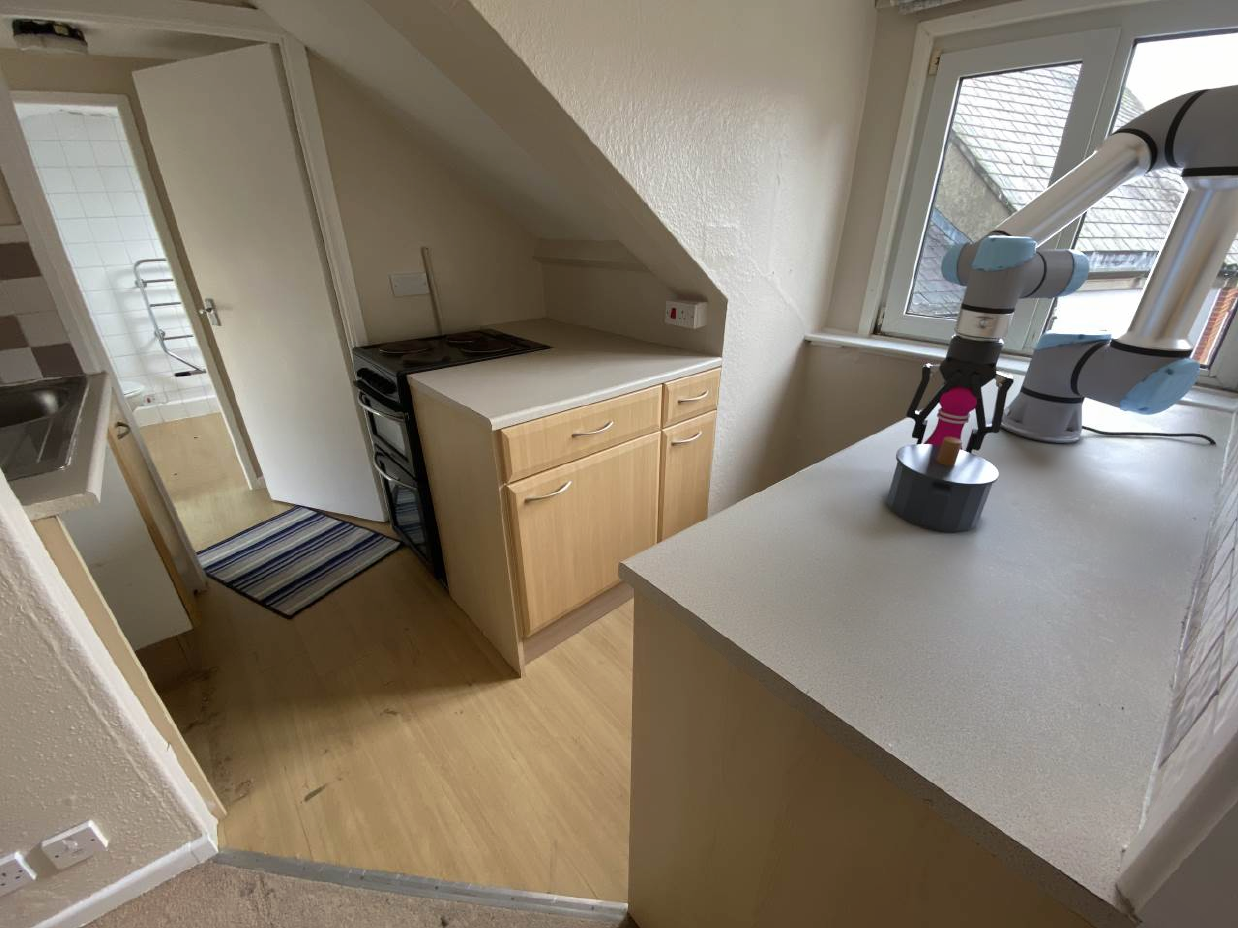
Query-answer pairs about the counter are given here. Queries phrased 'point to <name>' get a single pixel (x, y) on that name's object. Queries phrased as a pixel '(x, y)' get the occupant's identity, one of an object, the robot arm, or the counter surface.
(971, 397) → the pepper mill
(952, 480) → the pot lid
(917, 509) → the pot
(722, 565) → the counter surface
